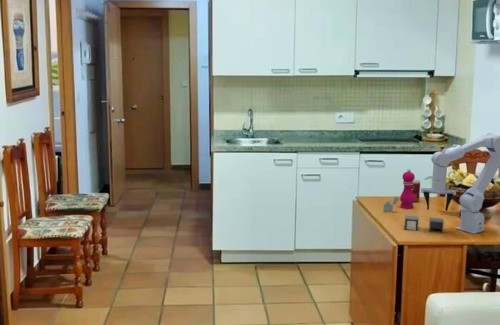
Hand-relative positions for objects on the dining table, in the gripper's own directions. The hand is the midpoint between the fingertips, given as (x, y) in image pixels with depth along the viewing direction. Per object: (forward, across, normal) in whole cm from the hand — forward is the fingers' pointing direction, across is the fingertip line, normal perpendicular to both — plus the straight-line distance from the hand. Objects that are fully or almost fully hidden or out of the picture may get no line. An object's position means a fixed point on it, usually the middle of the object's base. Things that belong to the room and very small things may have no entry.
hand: (437, 209), depth 261 cm
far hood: (+9, -10, 0) cm, 14 cm away
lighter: (+10, -20, +27) cm, 35 cm away
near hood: (+9, 0, 0) cm, 9 cm away
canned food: (+10, -11, +54) cm, 56 cm away
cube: (+10, -10, 0) cm, 14 cm away
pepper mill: (+10, -13, +39) cm, 42 cm away
